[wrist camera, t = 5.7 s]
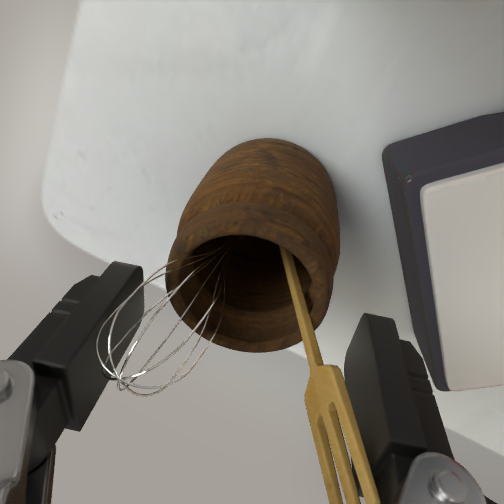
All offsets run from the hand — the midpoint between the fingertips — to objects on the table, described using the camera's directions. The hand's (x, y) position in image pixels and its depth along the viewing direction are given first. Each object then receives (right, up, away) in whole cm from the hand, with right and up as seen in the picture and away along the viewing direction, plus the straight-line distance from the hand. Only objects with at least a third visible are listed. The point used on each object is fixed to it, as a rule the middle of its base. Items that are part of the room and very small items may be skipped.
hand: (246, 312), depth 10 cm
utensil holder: (+1, +4, +7) cm, 8 cm away
